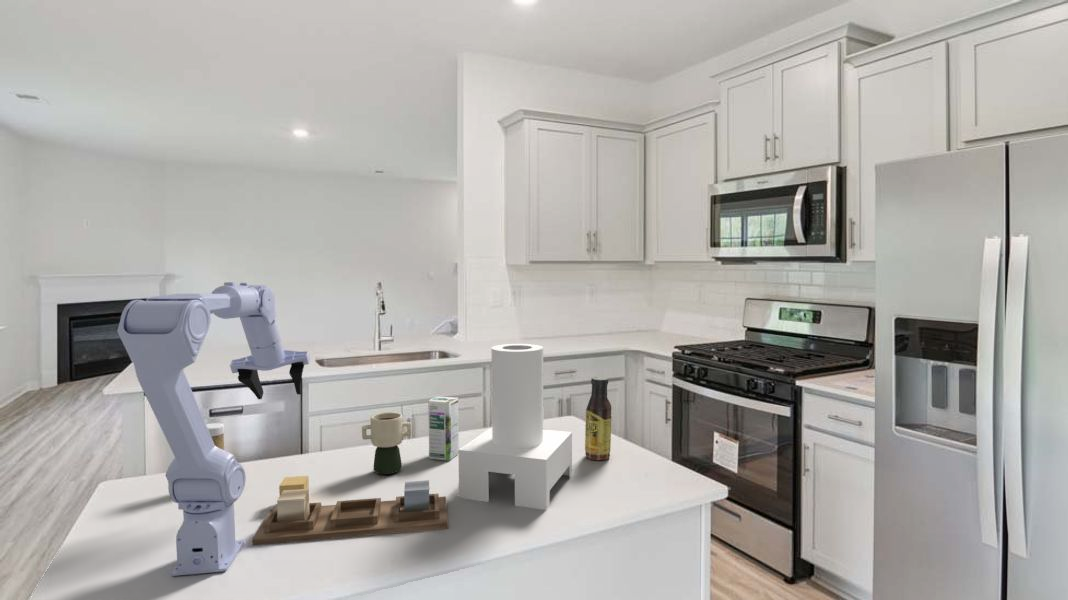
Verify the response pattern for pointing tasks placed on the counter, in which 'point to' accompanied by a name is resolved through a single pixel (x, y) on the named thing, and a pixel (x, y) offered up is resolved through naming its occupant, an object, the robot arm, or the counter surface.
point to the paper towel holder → (516, 433)
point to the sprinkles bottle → (217, 434)
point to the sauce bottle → (598, 421)
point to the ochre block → (294, 483)
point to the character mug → (386, 440)
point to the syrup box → (443, 428)
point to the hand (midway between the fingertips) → (280, 393)
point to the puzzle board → (352, 516)
